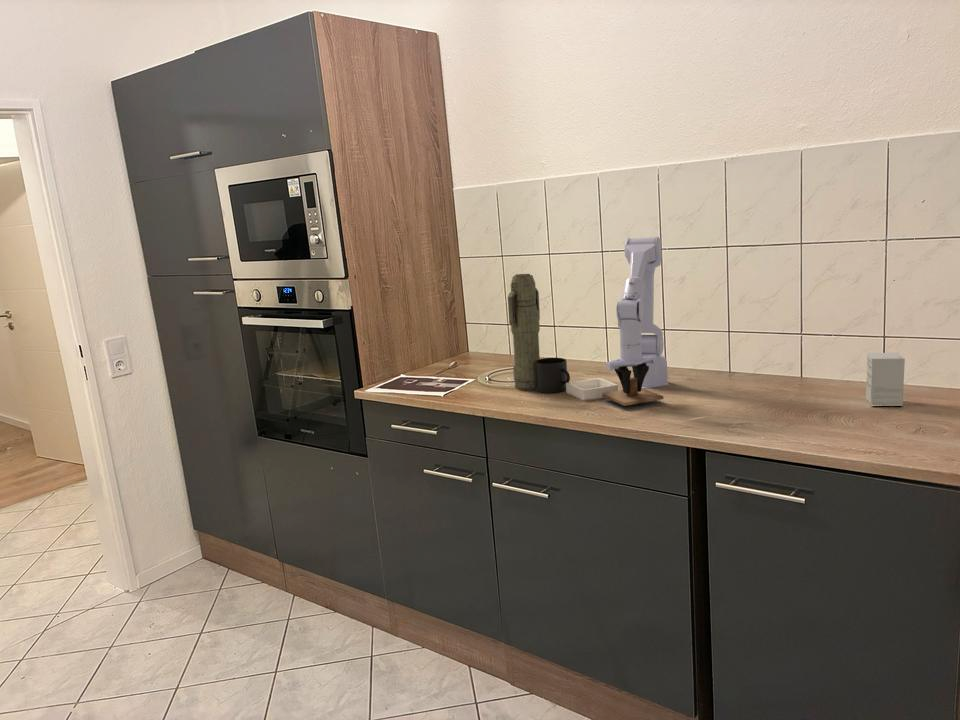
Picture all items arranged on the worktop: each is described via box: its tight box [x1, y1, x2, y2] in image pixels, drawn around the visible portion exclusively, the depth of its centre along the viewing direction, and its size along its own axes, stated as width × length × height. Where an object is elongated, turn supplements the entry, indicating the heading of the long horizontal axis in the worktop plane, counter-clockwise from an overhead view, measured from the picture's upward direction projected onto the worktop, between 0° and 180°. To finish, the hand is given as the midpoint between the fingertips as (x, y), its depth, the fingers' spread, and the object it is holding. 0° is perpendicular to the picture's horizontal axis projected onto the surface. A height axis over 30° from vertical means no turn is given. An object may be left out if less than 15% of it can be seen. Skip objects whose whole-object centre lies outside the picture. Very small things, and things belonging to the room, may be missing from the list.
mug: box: [535, 357, 571, 394], centre depth 222 cm, size 9×12×9 cm
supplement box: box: [865, 352, 906, 407], centre depth 186 cm, size 7×7×13 cm
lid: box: [602, 377, 664, 406], centre depth 202 cm, size 12×12×5 cm
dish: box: [565, 377, 619, 402], centre depth 214 cm, size 11×11×4 cm
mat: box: [599, 398, 666, 412], centre depth 203 cm, size 13×13×1 cm
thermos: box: [507, 273, 541, 391], centre depth 226 cm, size 9×12×35 cm
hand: (632, 392), depth 202 cm, fingers closed on lid, 3 cm apart
